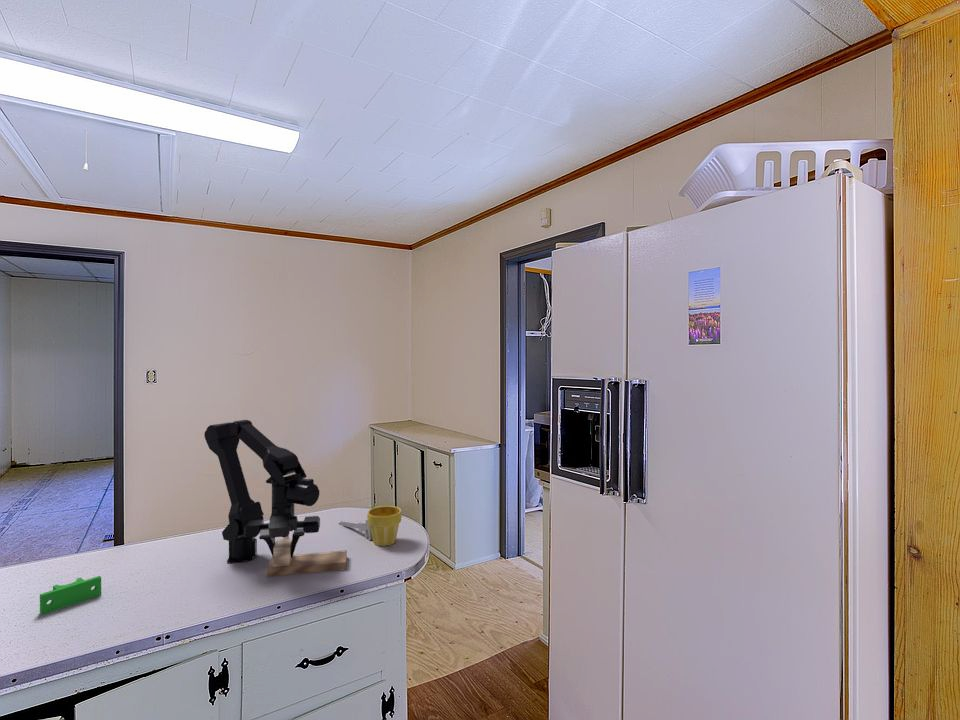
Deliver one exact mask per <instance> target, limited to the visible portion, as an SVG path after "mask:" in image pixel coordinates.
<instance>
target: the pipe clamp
mask: <svg viewBox="0 0 960 720" xmlns="http://www.w3.org/2000/svg"><path fill="white" fill-rule="evenodd" d="M93 587H94V588H93ZM92 588H93V589H92ZM101 595H102V577H101V576H100V575H98V576H94V577H91V578H88V579H83V578H82V577H81V576H80V577H77V578H76V579H75V580H74V581H73V582H71V583H67V584H61V585H59V584H55V585H52V590H49V591H46V592H43V593H40V594H39V614H40V615H45V614H49V613H51V612H54V611H58V610H61V609H63V608H67V607H69V606H72V605H75V604H78V603H82V602H84V601H86V600H91V599H93V598H96V597H100V596H101ZM48 602H49V603H48Z"/></svg>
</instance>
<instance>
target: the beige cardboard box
mask: <svg viewBox="0 0 960 720" xmlns="http://www.w3.org/2000/svg"><path fill="white" fill-rule="evenodd" d="M289 536H290V535H288V536H287V537H282V538H281V539H279V538H278V539H277V540H275V546H274V548H273V567H278V566H289V565H290V562H291V559H292V558H291V546H292V537H291V538H290V537H289Z"/></svg>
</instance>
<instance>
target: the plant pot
mask: <svg viewBox="0 0 960 720" xmlns="http://www.w3.org/2000/svg"><path fill="white" fill-rule="evenodd" d="M402 515H403V514H402V508H400V507H398V506H396V505H395V506H394V505H380V506H375V507H372V508H370V509H369V510H367V513H366V517H367V519H366V520H368V524H369V525H370V528H371V532H372V537H373V539H372V541H373V544H374V545H375V544H376V545H375V546H378V545H379V547H387V546H386V545H388V546H391V545H394V544H395V543H396V540H397V537H398V536H397V535H398V531H399V527H400V526H399V525H400V523H401V522H402V517H403V516H402Z"/></svg>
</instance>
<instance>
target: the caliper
mask: <svg viewBox="0 0 960 720" xmlns="http://www.w3.org/2000/svg"><path fill="white" fill-rule="evenodd" d="M338 525H340V526H342V527H345V528H346V527H347V528H353V529H358V532H364V535H365V539H366V540H368V541H373V537H372V532H371V528H370V525H369V524H368V520H367V519H366V520H365V522H364V521H360V522H354V521H347V520H340V521H339V522H338ZM368 538H369V539H368Z"/></svg>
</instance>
